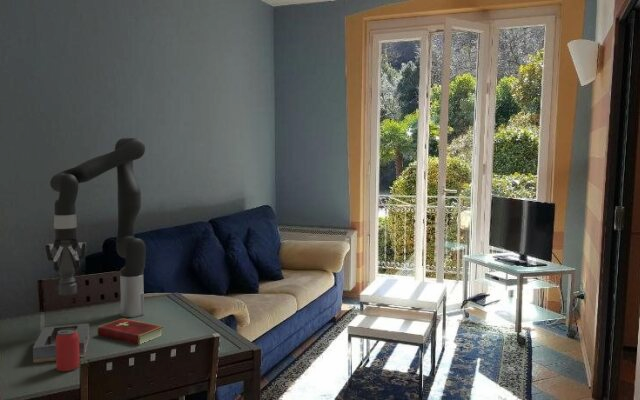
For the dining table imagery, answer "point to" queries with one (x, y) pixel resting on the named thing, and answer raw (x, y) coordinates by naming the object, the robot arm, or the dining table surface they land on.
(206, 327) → the dining table surface
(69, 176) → the robot arm
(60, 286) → the candle holder
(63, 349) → the beer can
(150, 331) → the hardcover book
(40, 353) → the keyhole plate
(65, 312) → the dining table surface
